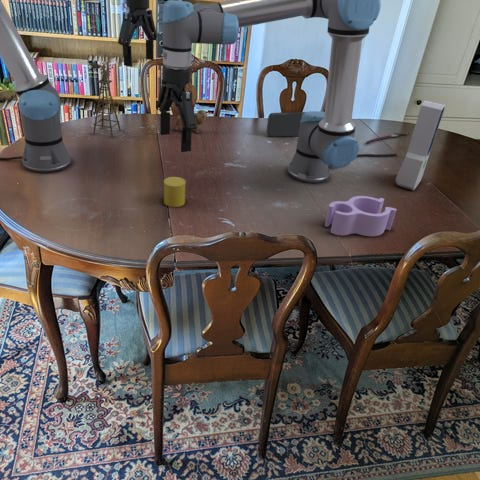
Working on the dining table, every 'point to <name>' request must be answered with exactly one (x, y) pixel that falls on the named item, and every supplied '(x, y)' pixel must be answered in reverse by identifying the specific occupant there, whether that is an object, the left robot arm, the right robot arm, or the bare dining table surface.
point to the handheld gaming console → (284, 124)
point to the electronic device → (420, 145)
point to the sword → (384, 137)
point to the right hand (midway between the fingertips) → (175, 142)
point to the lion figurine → (199, 118)
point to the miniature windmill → (105, 81)
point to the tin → (174, 191)
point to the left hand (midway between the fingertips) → (139, 62)
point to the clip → (359, 216)
